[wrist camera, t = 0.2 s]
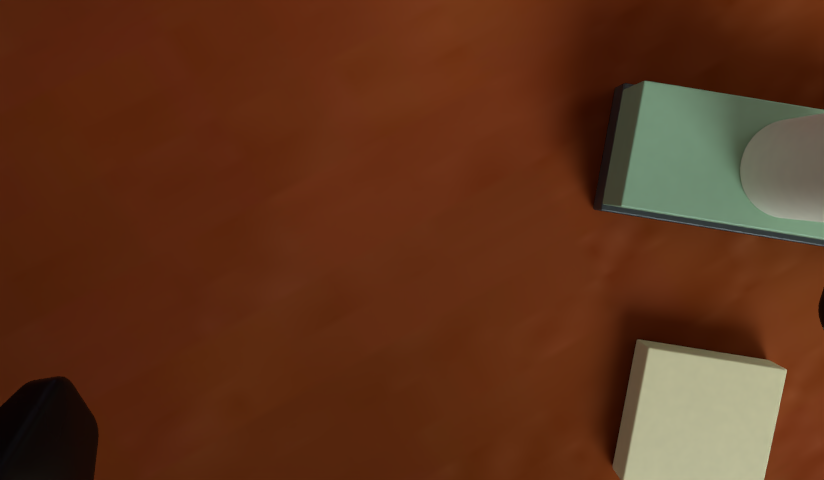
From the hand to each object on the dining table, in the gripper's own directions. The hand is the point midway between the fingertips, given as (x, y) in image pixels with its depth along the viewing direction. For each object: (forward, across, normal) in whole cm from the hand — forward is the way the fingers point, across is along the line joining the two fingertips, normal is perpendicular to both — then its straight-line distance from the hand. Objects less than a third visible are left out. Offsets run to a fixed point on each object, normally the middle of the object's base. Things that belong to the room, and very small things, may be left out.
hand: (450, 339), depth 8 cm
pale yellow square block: (+8, -8, +14) cm, 18 cm away
